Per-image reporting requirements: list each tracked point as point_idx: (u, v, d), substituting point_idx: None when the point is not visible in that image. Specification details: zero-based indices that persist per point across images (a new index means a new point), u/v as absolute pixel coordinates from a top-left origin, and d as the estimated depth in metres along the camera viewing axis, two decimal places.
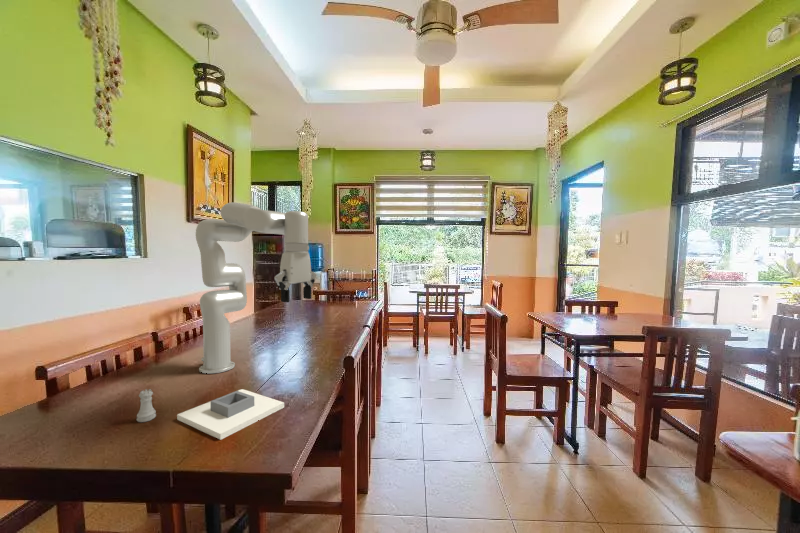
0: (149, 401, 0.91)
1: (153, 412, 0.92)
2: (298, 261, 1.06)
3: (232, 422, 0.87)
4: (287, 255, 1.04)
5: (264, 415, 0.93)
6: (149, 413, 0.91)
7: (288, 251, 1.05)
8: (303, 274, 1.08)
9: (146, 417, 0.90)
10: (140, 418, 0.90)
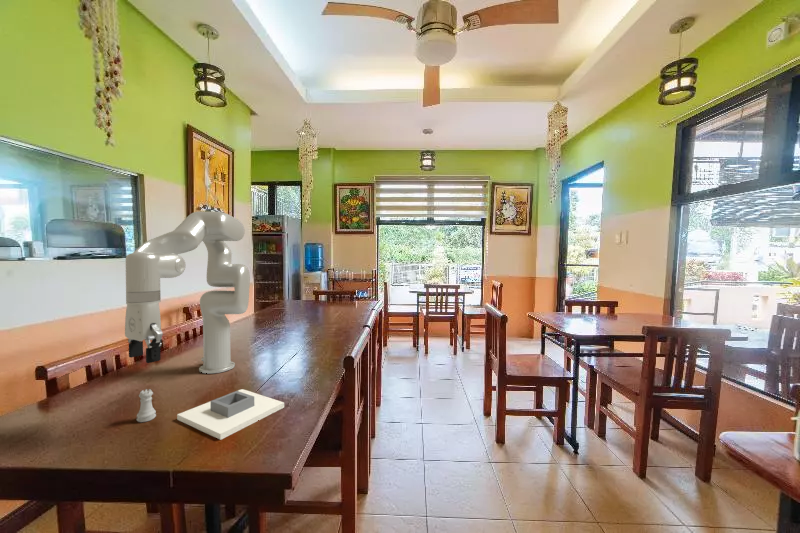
0: (149, 401, 0.91)
1: (153, 412, 0.92)
2: None
3: (232, 422, 0.87)
4: (154, 305, 0.89)
5: (264, 415, 0.93)
6: (149, 413, 0.91)
7: (151, 301, 0.89)
8: None
9: (146, 417, 0.90)
10: (140, 418, 0.90)
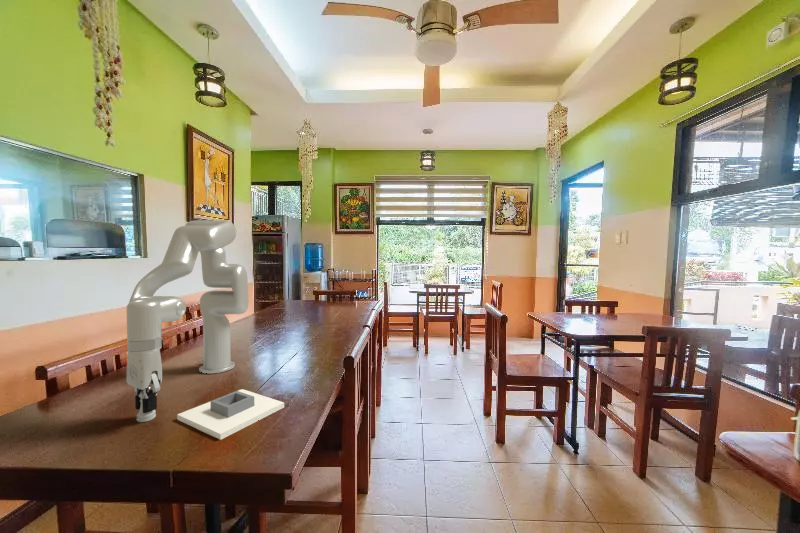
0: None
1: (153, 412, 0.92)
2: None
3: (232, 422, 0.87)
4: (155, 353, 0.89)
5: (264, 415, 0.93)
6: (149, 413, 0.91)
7: (152, 349, 0.89)
8: None
9: (146, 417, 0.90)
10: (140, 418, 0.90)
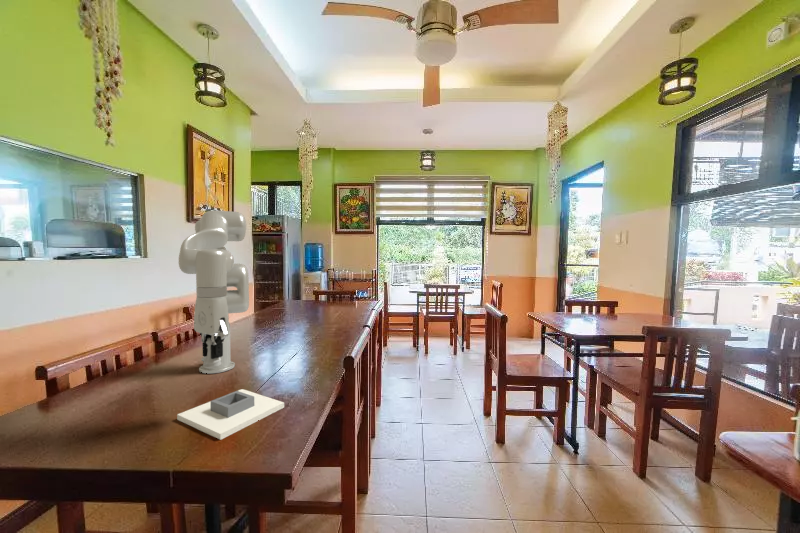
0: None
1: (219, 359, 0.94)
2: None
3: (232, 422, 0.87)
4: (223, 300, 0.91)
5: (264, 415, 0.93)
6: (216, 360, 0.93)
7: (220, 296, 0.91)
8: None
9: (213, 363, 0.92)
10: (208, 364, 0.92)
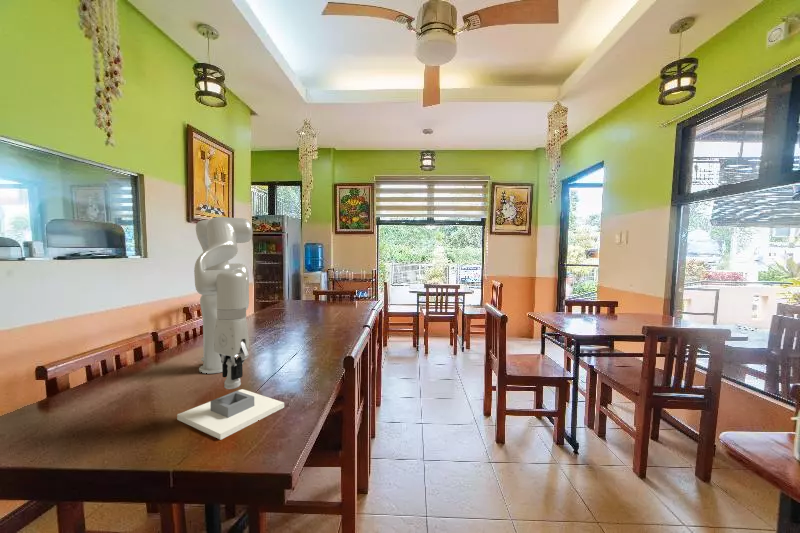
0: None
1: (239, 380, 0.95)
2: None
3: (232, 422, 0.87)
4: (243, 322, 0.92)
5: (264, 415, 0.93)
6: (236, 380, 0.94)
7: (240, 318, 0.92)
8: None
9: (234, 384, 0.93)
10: (228, 385, 0.93)
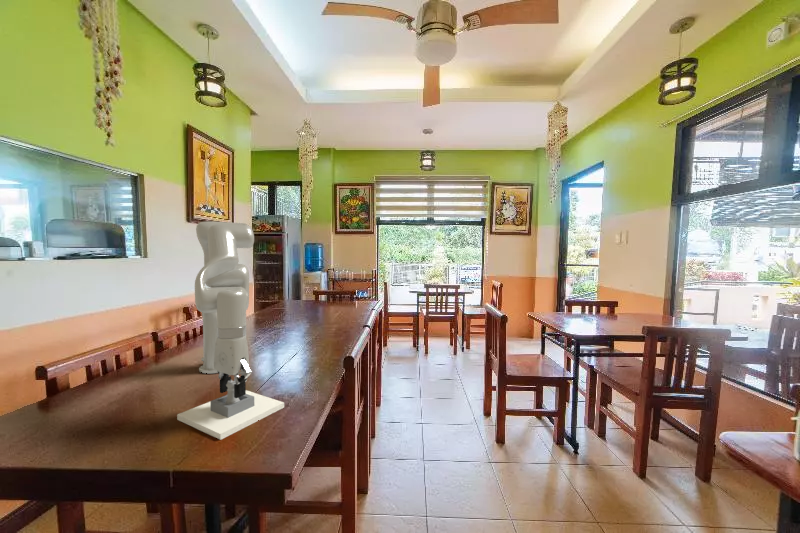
0: None
1: None
2: None
3: (232, 422, 0.87)
4: (243, 340, 0.93)
5: (264, 415, 0.93)
6: None
7: (241, 336, 0.93)
8: None
9: None
10: None
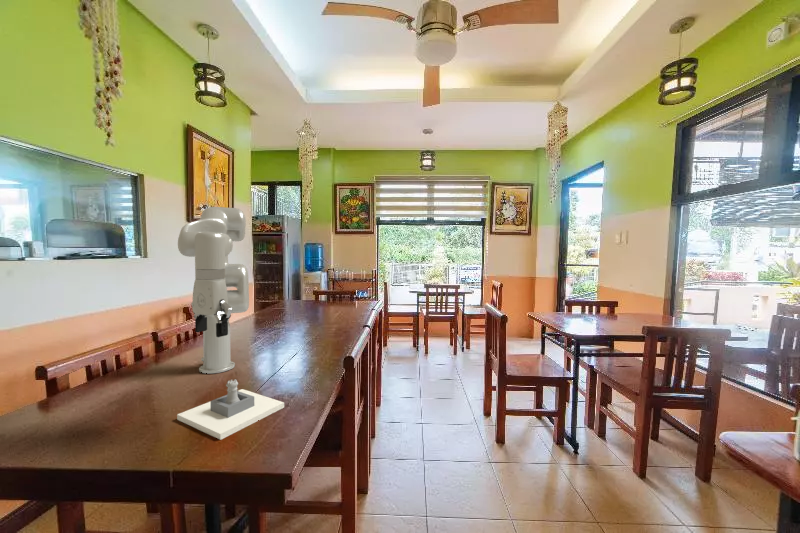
0: (235, 391, 0.95)
1: None
2: None
3: (232, 422, 0.87)
4: (222, 283, 0.93)
5: (264, 415, 0.93)
6: None
7: (219, 278, 0.92)
8: None
9: None
10: None
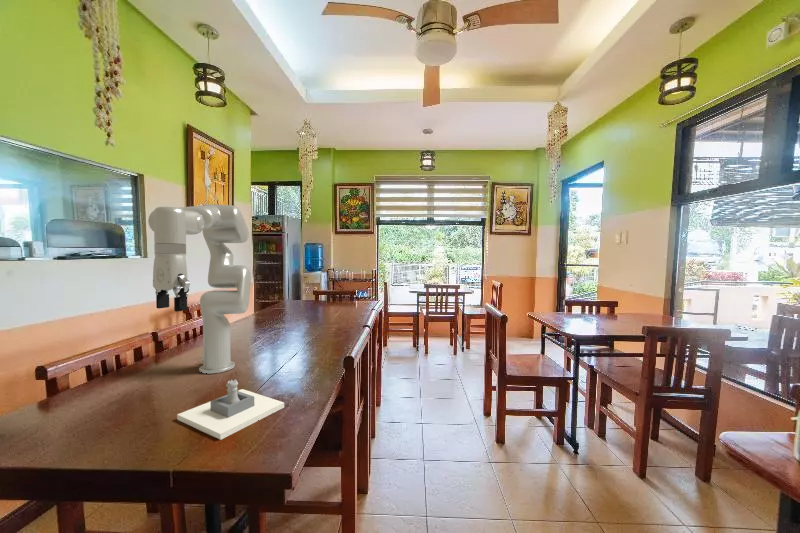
0: (235, 391, 0.95)
1: None
2: None
3: (232, 422, 0.87)
4: (181, 257, 0.93)
5: (264, 415, 0.93)
6: None
7: (178, 253, 0.93)
8: None
9: None
10: None
